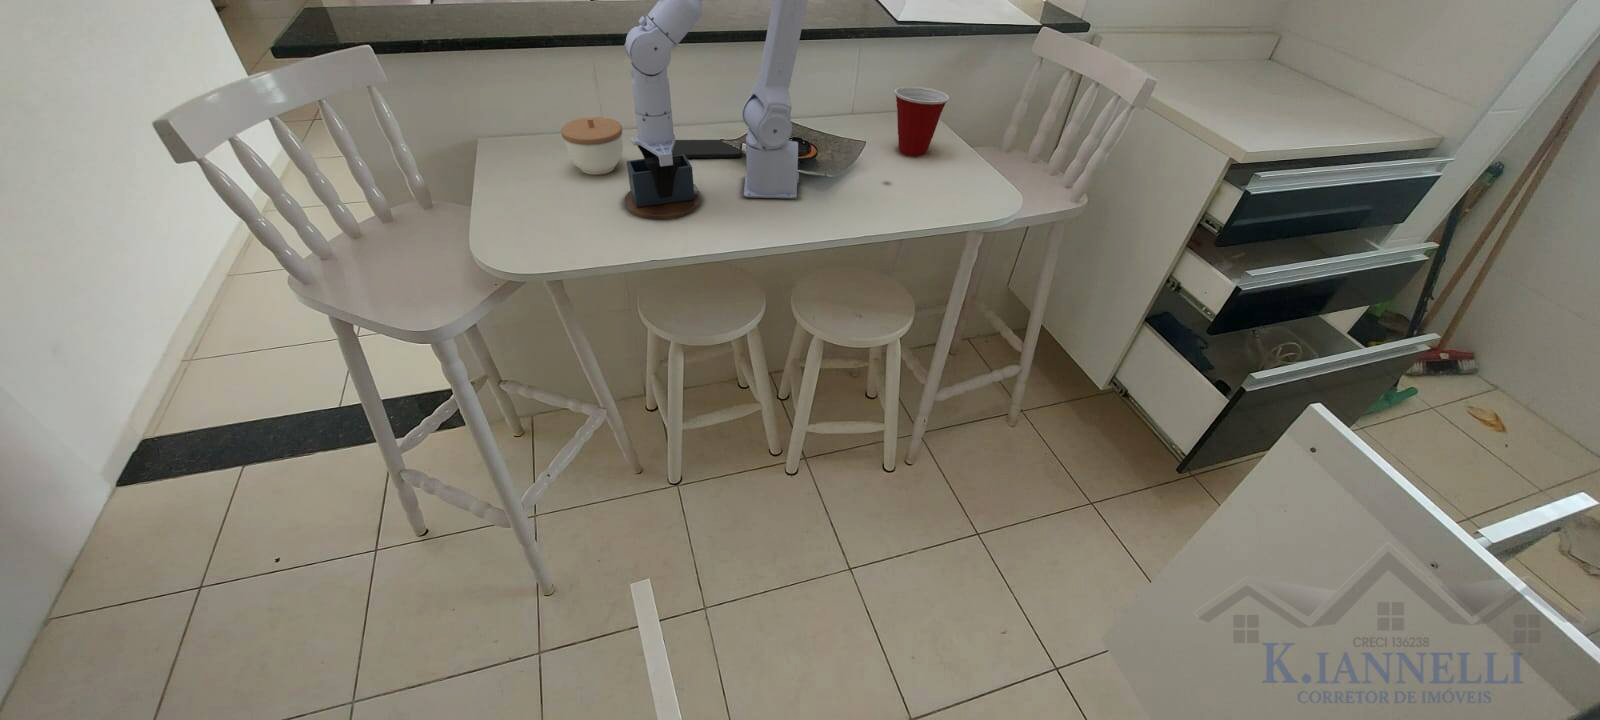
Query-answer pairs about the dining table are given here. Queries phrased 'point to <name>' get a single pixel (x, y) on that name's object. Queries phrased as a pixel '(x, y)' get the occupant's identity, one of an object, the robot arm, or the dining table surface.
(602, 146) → the trinket box
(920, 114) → the plastic cup
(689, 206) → the disc
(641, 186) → the bin
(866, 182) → the dining table surface
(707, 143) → the phone
